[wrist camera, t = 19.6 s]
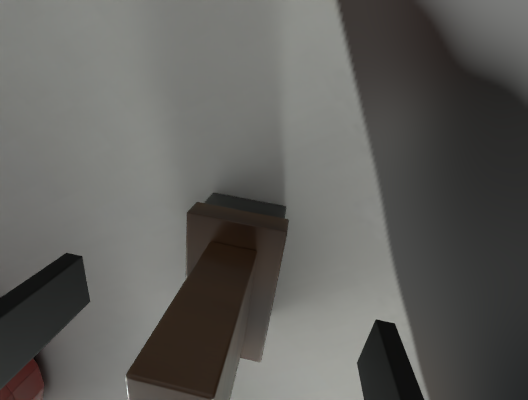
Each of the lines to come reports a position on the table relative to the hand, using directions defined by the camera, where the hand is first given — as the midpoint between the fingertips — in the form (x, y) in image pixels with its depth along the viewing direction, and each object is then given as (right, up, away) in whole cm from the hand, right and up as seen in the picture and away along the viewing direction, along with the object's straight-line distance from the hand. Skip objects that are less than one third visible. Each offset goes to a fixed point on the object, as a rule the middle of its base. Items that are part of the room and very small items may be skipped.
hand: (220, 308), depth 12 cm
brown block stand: (+1, +1, +4) cm, 4 cm away
